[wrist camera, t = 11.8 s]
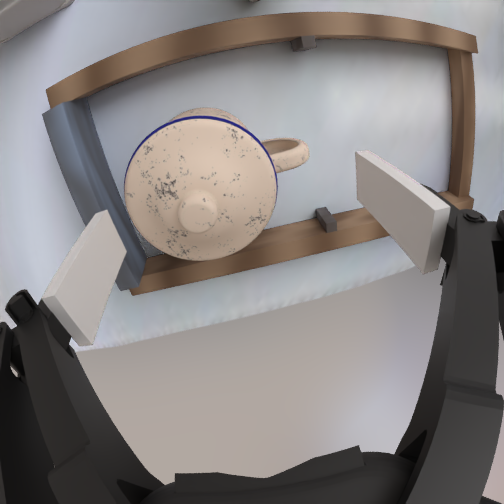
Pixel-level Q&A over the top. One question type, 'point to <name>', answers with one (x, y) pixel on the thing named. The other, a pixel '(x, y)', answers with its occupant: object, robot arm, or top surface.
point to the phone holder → (25, 14)
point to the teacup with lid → (206, 184)
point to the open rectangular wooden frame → (226, 38)
